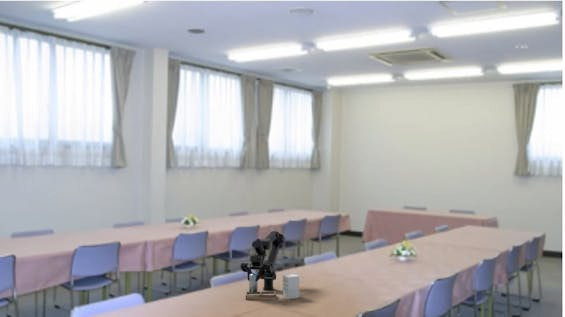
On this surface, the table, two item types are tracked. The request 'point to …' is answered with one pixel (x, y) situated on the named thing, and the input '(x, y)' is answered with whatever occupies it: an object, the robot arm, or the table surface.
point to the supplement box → (291, 286)
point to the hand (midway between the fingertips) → (252, 280)
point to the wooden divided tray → (261, 295)
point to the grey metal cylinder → (253, 283)
